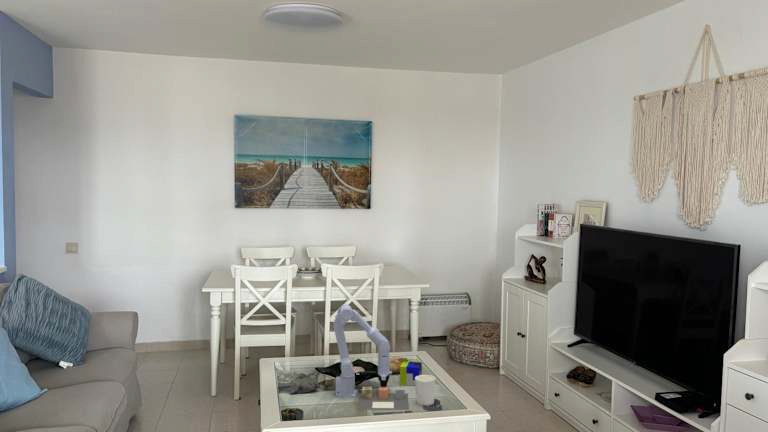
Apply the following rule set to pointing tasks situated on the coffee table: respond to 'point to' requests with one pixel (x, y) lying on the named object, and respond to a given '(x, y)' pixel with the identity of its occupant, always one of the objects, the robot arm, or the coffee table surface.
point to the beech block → (367, 393)
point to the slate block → (399, 392)
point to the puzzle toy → (409, 372)
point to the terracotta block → (383, 392)
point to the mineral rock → (303, 383)
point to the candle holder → (425, 389)
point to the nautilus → (396, 363)
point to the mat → (383, 403)
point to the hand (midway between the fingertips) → (383, 390)
